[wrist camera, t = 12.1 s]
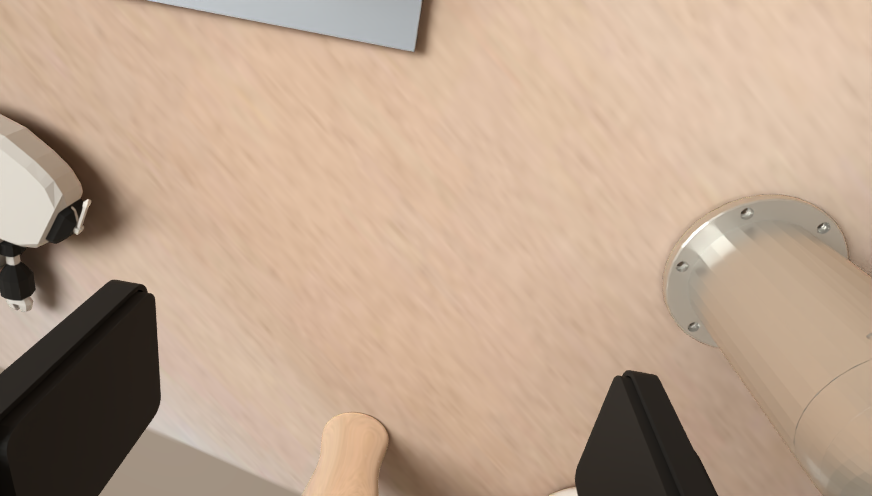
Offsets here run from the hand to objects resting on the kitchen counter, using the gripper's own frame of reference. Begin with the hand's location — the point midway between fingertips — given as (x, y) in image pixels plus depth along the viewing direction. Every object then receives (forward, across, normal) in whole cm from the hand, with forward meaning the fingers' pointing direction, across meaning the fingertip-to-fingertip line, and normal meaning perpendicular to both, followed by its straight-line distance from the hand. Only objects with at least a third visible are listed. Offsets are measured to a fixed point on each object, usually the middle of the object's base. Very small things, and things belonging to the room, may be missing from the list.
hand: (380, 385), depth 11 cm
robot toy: (+29, +30, +13) cm, 44 cm away
